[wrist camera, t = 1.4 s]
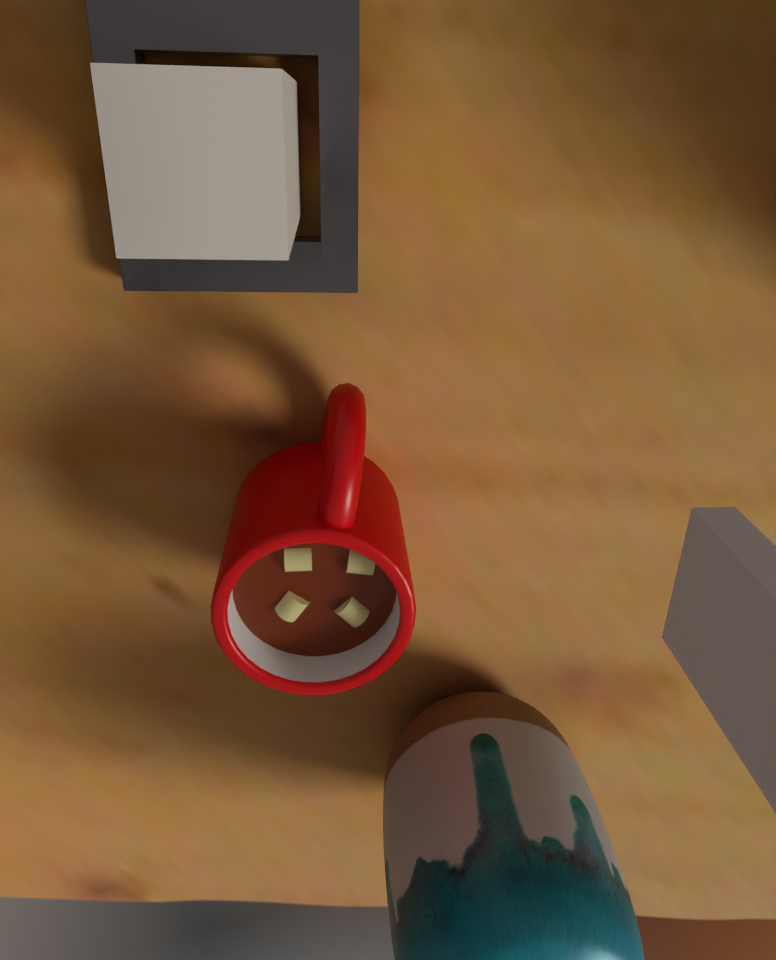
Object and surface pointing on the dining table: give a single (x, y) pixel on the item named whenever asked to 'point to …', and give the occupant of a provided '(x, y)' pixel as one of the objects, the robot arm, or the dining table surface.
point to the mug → (316, 564)
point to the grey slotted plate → (335, 42)
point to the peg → (199, 160)
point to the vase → (498, 841)
